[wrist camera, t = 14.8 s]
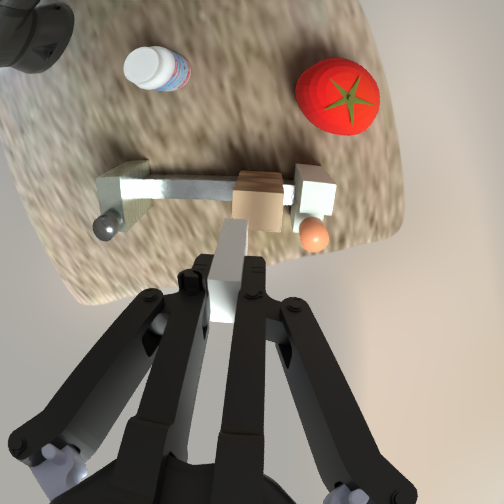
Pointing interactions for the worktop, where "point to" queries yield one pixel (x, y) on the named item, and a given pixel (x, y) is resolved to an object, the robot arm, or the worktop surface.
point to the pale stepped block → (311, 194)
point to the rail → (155, 194)
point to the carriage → (259, 200)
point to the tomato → (338, 96)
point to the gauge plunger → (313, 234)
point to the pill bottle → (157, 69)
